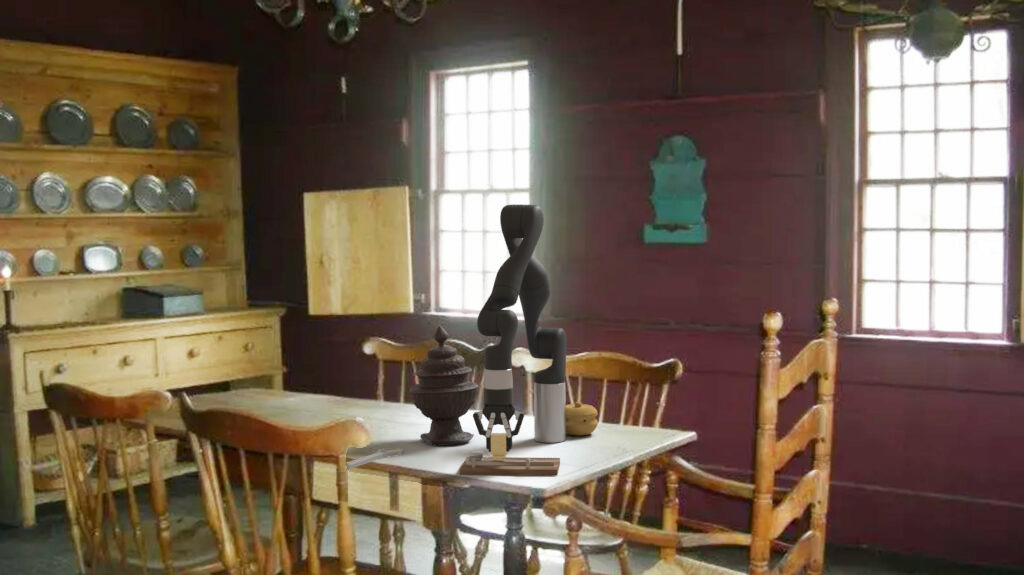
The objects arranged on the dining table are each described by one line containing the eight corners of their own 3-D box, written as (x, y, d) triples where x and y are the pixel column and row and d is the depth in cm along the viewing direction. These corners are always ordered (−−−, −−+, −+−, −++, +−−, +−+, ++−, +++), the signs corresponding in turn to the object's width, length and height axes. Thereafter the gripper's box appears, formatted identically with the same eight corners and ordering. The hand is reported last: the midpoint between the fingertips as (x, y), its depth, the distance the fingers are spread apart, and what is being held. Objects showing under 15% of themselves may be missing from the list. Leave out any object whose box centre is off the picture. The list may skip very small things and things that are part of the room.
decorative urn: (496, 436, 329) (485, 319, 325) (455, 453, 312) (443, 330, 309) (443, 432, 340) (431, 320, 337) (400, 448, 324) (388, 330, 320)
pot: (595, 438, 327) (595, 405, 326) (556, 437, 329) (555, 404, 329) (600, 431, 338) (599, 399, 338) (562, 430, 341) (561, 398, 340)
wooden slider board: (467, 462, 297) (466, 447, 296) (560, 463, 294) (559, 448, 294) (459, 474, 283) (459, 459, 283) (557, 475, 280) (557, 459, 280)
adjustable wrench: (345, 472, 289) (345, 465, 289) (327, 469, 293) (327, 462, 293) (406, 454, 310) (406, 448, 310) (388, 451, 314) (388, 445, 313)
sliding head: (493, 458, 292) (493, 432, 292) (508, 458, 292) (508, 432, 292) (490, 464, 286) (490, 436, 286) (505, 464, 286) (505, 436, 285)
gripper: (526, 383, 291) (527, 448, 292) (473, 383, 292) (474, 448, 293) (524, 388, 283) (525, 454, 284) (469, 388, 284) (470, 453, 286)
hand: (499, 450), depth 289 cm, fingers closed on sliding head, 4 cm apart
